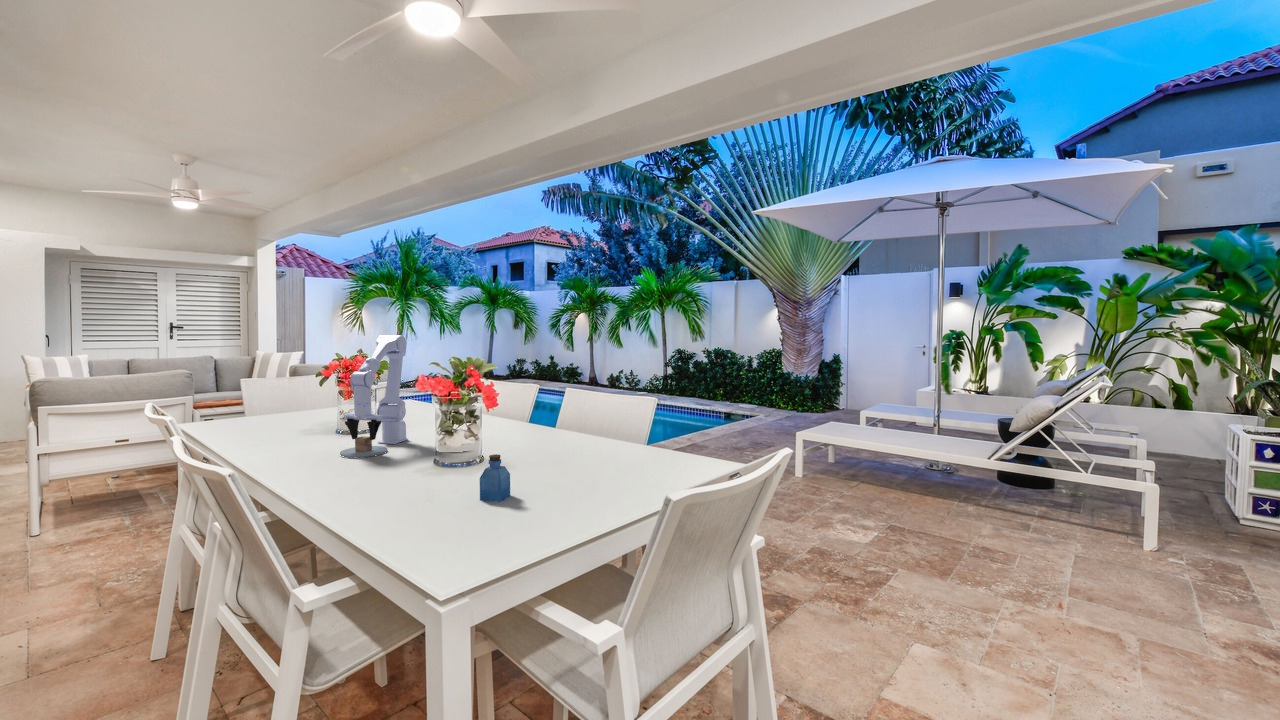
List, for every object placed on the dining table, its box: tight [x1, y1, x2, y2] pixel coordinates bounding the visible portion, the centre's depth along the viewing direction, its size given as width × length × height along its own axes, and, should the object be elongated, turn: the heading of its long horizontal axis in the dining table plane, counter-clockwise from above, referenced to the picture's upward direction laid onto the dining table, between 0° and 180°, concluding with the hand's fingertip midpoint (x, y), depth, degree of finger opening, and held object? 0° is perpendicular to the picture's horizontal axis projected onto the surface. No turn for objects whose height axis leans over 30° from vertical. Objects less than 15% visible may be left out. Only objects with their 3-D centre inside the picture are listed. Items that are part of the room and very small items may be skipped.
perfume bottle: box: [479, 453, 511, 503], centre depth 157 cm, size 6×6×12 cm
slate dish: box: [339, 445, 388, 458], centre depth 211 cm, size 16×16×1 cm
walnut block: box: [354, 435, 373, 452], centre depth 210 cm, size 4×4×5 cm
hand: (363, 439), depth 211 cm, fingers open, 7 cm apart
